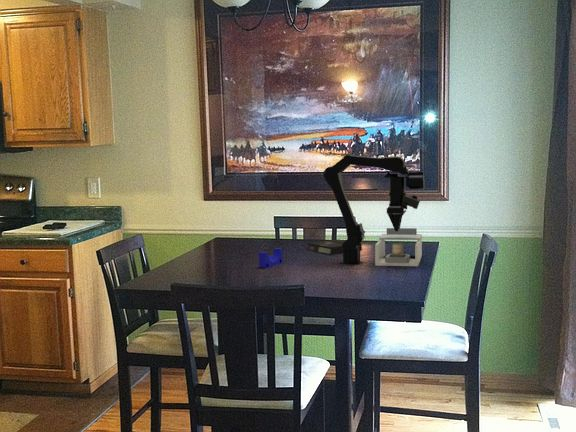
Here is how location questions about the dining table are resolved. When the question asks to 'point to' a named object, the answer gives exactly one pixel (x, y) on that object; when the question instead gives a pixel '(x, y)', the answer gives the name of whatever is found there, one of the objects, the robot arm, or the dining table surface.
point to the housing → (396, 261)
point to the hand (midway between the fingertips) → (397, 230)
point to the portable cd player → (329, 247)
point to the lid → (401, 234)
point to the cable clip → (270, 258)
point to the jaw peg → (397, 250)
